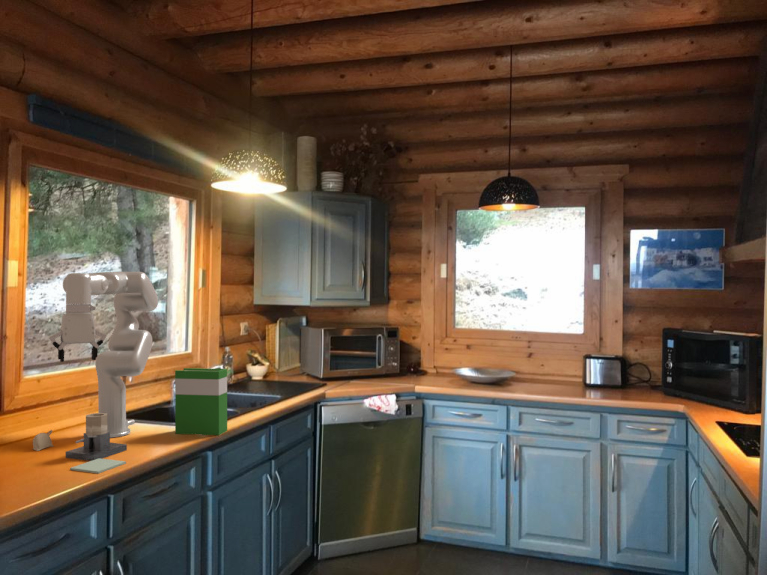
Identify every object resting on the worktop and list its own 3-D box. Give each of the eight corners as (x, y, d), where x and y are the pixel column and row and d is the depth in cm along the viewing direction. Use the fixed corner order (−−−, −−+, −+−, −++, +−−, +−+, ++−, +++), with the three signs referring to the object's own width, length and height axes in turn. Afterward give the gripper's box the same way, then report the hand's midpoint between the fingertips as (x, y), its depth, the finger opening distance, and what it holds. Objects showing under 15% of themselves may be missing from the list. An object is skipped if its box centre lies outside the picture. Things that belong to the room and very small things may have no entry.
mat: (98, 460, 192) (98, 458, 192) (125, 463, 188) (125, 461, 188) (70, 469, 181) (70, 467, 181) (98, 473, 177) (98, 471, 177)
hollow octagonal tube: (96, 430, 203) (96, 412, 203) (111, 431, 201) (111, 413, 201) (81, 434, 197) (81, 416, 197) (96, 435, 195) (96, 417, 195)
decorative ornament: (28, 450, 204) (28, 434, 204) (49, 444, 212) (49, 429, 212) (37, 451, 203) (37, 435, 203) (57, 445, 211) (57, 430, 211)
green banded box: (175, 433, 227) (175, 370, 227) (184, 429, 234) (184, 368, 234) (218, 435, 224) (218, 371, 224) (227, 430, 231) (227, 368, 231)
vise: (98, 447, 208) (98, 412, 208) (126, 450, 203) (126, 414, 204) (64, 457, 195) (64, 420, 195) (93, 461, 190) (93, 423, 190)
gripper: (103, 309, 209) (103, 358, 209) (47, 310, 199) (47, 361, 198) (108, 309, 203) (108, 359, 203) (51, 310, 193) (50, 363, 192)
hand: (78, 360), depth 200 cm, fingers open, 9 cm apart
